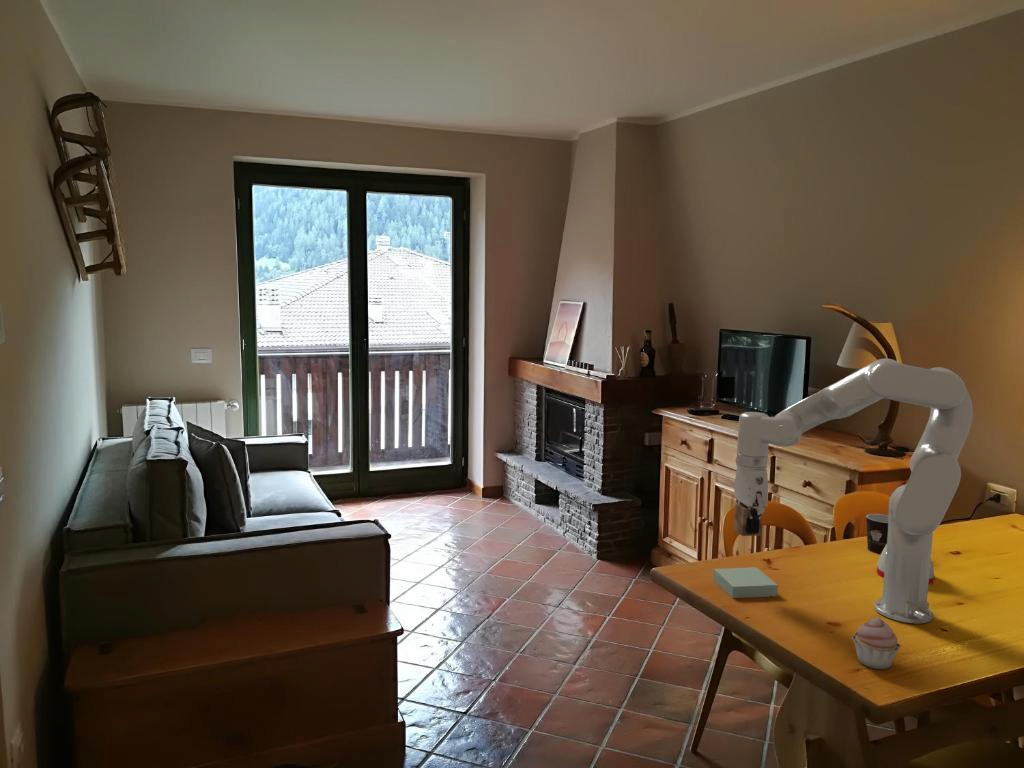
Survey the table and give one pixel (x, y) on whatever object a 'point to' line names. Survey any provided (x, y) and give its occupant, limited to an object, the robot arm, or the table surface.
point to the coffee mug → (877, 532)
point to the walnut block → (743, 520)
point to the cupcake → (876, 644)
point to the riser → (745, 582)
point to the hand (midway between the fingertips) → (747, 528)
